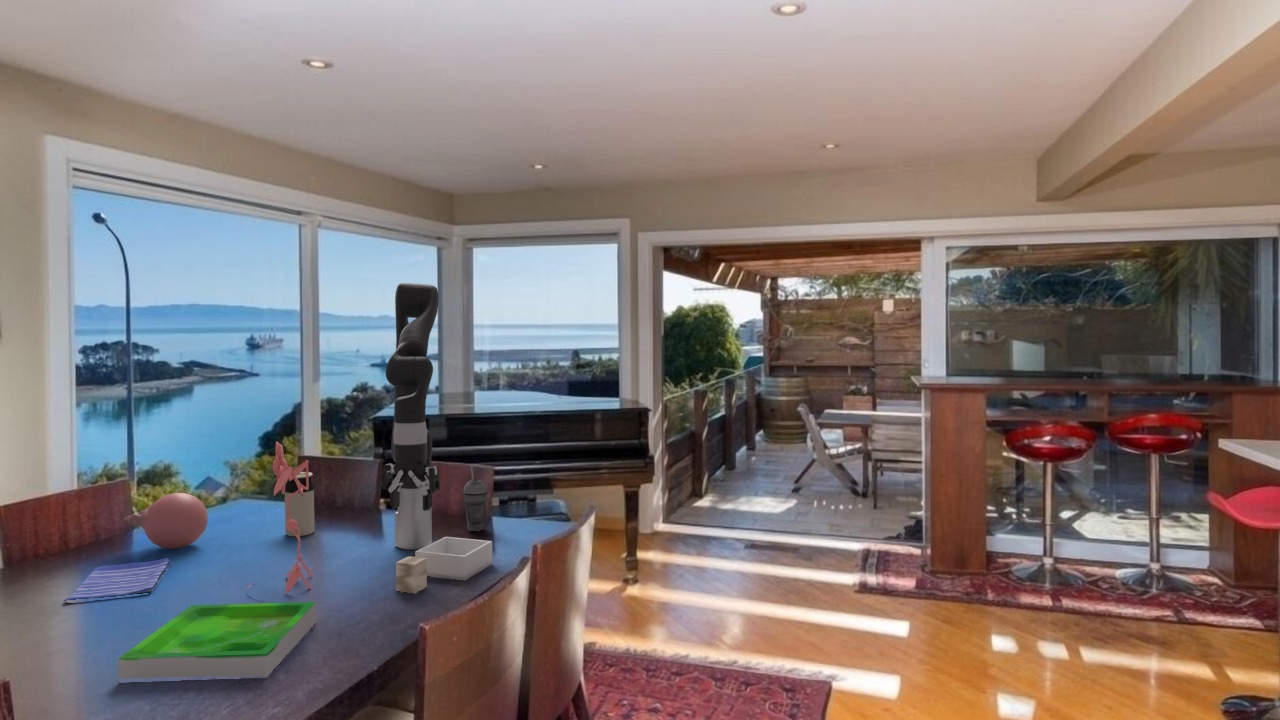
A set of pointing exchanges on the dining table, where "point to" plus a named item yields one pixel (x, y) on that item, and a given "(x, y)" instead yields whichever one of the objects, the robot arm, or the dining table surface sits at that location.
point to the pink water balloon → (172, 520)
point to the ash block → (411, 574)
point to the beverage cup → (475, 503)
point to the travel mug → (300, 505)
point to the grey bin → (456, 557)
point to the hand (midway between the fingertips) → (411, 508)
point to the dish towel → (122, 580)
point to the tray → (220, 641)
